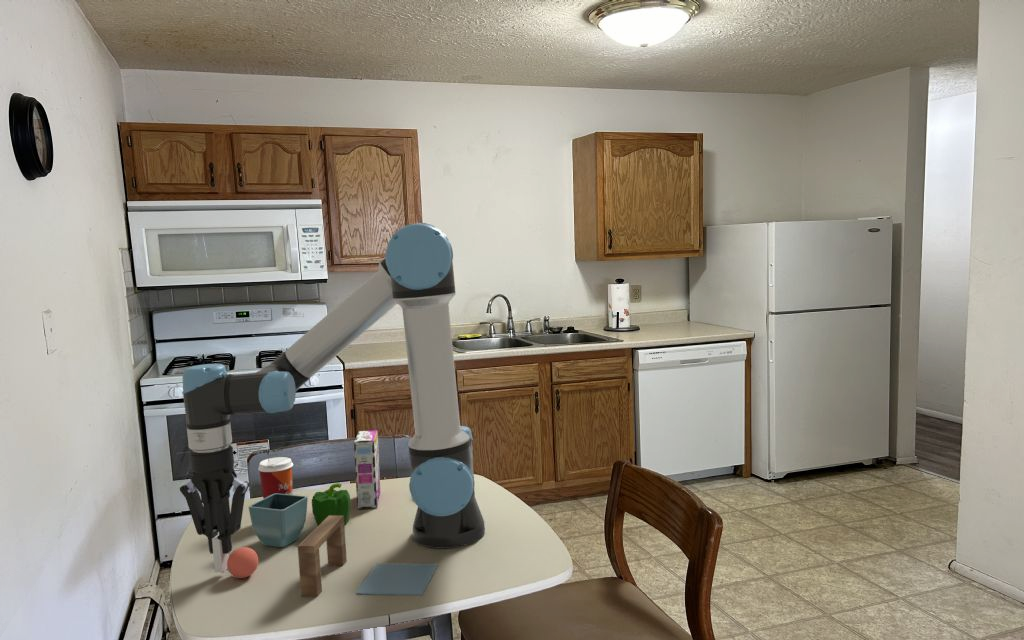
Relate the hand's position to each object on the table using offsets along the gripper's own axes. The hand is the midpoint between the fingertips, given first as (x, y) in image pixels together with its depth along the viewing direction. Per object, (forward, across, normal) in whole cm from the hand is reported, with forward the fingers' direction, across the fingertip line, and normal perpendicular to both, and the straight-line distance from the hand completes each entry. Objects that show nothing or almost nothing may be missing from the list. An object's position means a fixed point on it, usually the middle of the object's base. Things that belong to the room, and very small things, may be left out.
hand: (222, 569), depth 134 cm
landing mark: (+2, +34, 0) cm, 34 cm away
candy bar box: (+2, +15, +41) cm, 44 cm away
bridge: (+2, +20, 0) cm, 20 cm away
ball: (-1, +4, 0) cm, 5 cm away
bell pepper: (+2, +12, +24) cm, 27 cm away
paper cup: (+2, -2, +28) cm, 28 cm away
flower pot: (+2, +4, +16) cm, 17 cm away
